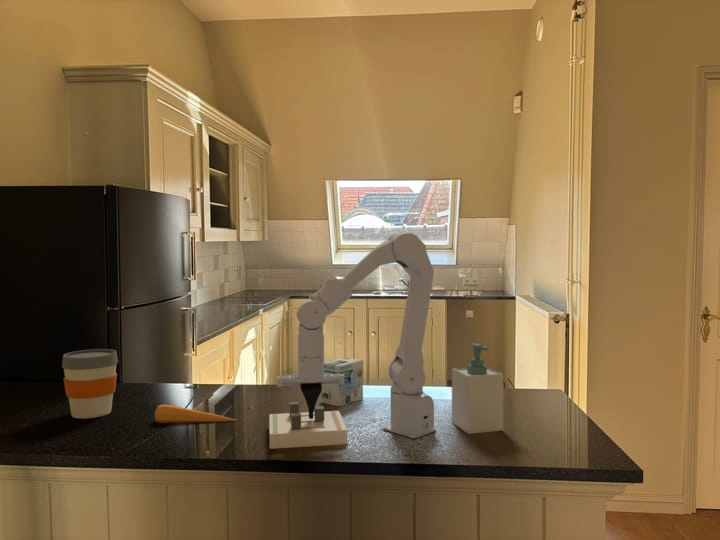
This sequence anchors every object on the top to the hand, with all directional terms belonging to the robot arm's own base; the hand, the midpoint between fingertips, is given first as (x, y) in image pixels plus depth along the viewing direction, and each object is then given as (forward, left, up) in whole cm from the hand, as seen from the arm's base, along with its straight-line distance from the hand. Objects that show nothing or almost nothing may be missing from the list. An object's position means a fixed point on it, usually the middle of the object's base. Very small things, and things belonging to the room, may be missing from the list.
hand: (311, 417), depth 121 cm
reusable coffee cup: (+52, +28, -4) cm, 59 cm away
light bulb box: (+16, -24, -4) cm, 29 cm away
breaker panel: (+1, +1, -4) cm, 4 cm away
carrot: (+27, +13, -4) cm, 30 cm away
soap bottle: (-22, -31, -4) cm, 38 cm away
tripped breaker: (-1, -2, 0) cm, 2 cm away
